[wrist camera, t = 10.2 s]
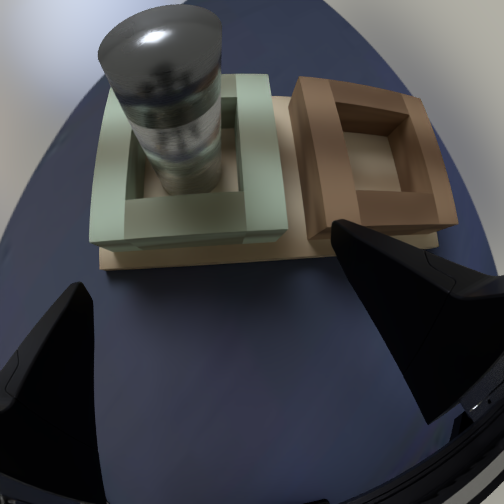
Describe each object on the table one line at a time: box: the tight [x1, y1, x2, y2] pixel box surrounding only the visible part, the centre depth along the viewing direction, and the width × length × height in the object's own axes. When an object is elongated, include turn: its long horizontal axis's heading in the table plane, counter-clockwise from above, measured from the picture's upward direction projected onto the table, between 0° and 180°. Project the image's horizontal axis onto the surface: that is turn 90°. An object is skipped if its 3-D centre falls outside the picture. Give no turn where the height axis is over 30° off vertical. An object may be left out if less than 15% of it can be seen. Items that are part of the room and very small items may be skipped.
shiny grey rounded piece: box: [98, 4, 222, 196], centre depth 12 cm, size 4×4×11 cm
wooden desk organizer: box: [89, 74, 458, 271], centre depth 17 cm, size 12×24×4 cm, turn 94°
